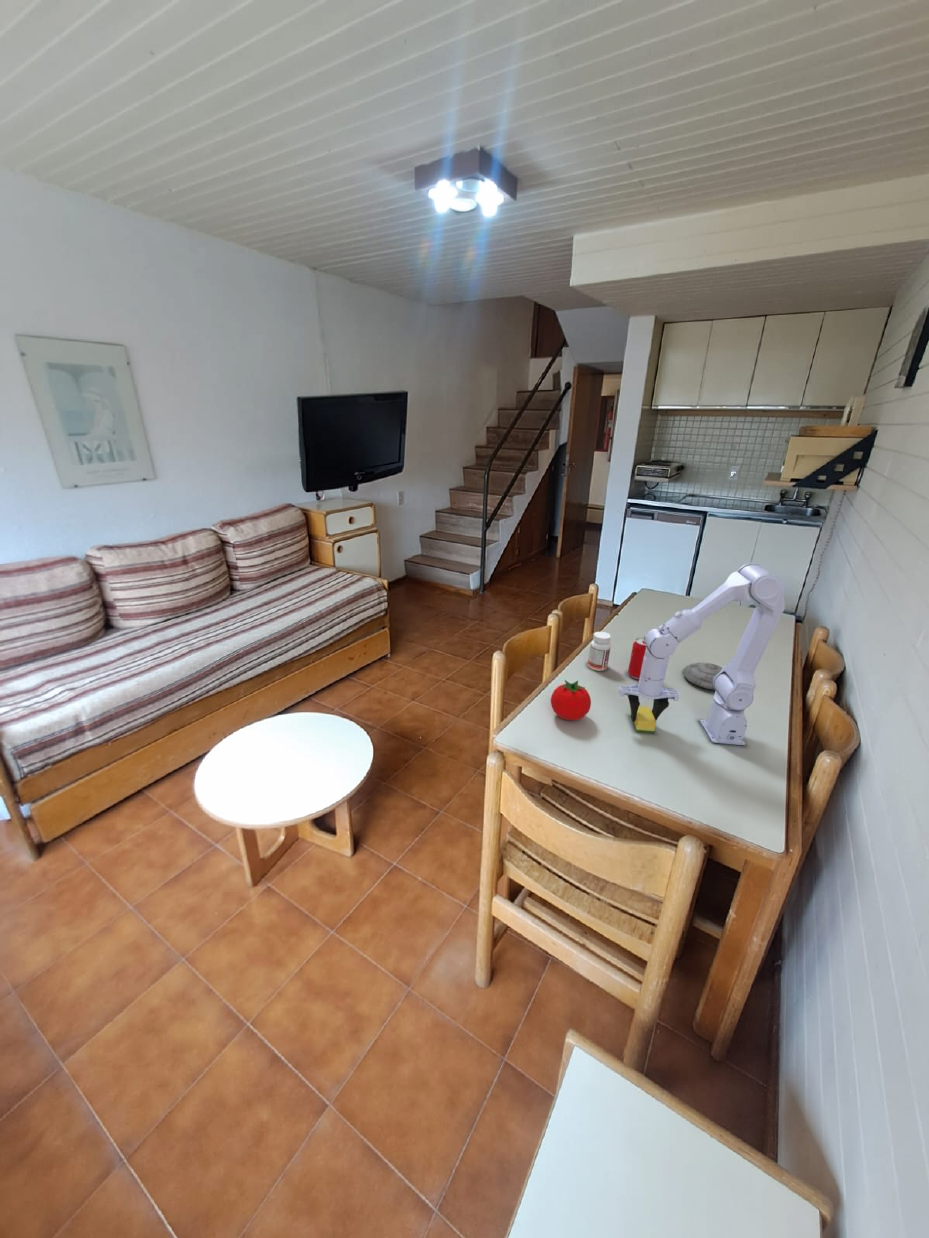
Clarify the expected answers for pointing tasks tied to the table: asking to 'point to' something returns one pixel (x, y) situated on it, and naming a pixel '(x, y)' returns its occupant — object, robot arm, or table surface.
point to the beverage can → (637, 658)
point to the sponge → (644, 720)
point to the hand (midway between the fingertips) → (642, 720)
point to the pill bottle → (599, 651)
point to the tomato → (571, 701)
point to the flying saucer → (701, 674)
